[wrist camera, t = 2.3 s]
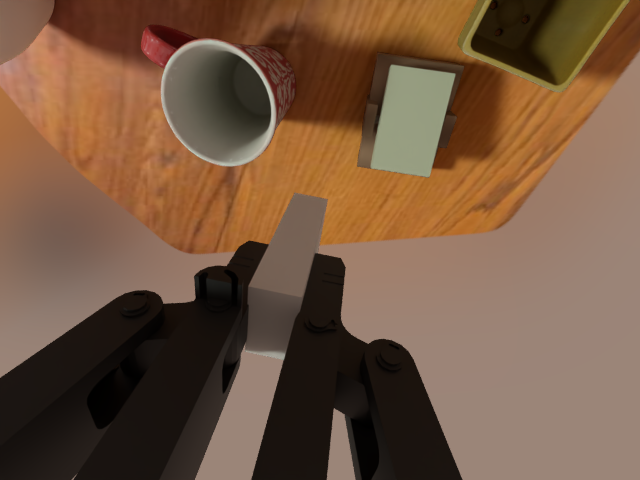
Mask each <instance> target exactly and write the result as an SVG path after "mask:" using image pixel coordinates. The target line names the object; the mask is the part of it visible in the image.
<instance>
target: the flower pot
mask: <svg viewBox="0 0 640 480" xmlns="http://www.w3.org/2000/svg"><path fill="white" fill-rule="evenodd" d="M629 1H630V0H478V1H477V3H476V5H475V7H474V9H473V11H472V13H471V15H470V17H469V19H468V21H467V22H466V24H465V26H464V28H463V30H462V32H461V34H460V36H459V39H458V45H459V47H460V49H461V50H462V51H463V52H464V53H465V54H466V55H468V56H471V57H473V58H476V59H479V60H481V61H484V62H486V63H489V64H491V65H493V66H496V67H498V68H501V69H503V70H505V71H508V72H510V73H512V74H515V75H517V76H519V77H522V78H524V79H526V80H529V81H531V82H533V83H535V84H538V85H540V86H542V87H544V88H547V89H549V90H552V91H554V92H563V91H564V90H565V89H566V88H567V87H568V86H569V85H570V83H571V82H572V81H573V79H574V78H575V77H576V75H577V74H578V72H579V71H580V70H581V68H582V67H583V65H584V64H585V62H586V61H587V59H588V58H589V57H590V55H591V54H592V53H593V51H594V50H595V48H596V47H597V45H598V44H599V43H600V41H601V40H602V38H603V37H604V36H605V34H606V33H607V31H608V30H609V29H610V27H611V26H612V24H613V23H614V22H615V20H616V19H617V17H618V16H619V15H620V13H621V12H622V11H623V9H624V8H625V7H626V5H627V4H628V3H629ZM493 2H496V3H497V7H496V8H495V9H491V8H490V5H491V3H493ZM524 16H528V17H529V19H528V21H527V22H526V23H523V22H522V18H523V17H524ZM497 29H501V30H502V32H501V34H500V35H499V36H496V35H495V32H496V30H497Z"/></svg>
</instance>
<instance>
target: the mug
mask: <svg viewBox="0 0 640 480" xmlns="http://www.w3.org/2000/svg"><path fill="white" fill-rule="evenodd" d="M141 49H142V51H143V52H144V54H145V55H146V56H147V57H148V58H149V59H150V60H151V61H153V62H154V63H156V64H157V65H159V66H160V67H162V68H164V69H165V70H164V73H163V76H162V82H161V100H162V105H163V110H164V113H165V116H166V119H167V121H168V123H169V125H170V127H171V129H172V131H173V132H174V134H175V135H176V137H177V138H178V139H179V140H180V142H181V143H182V144H183V145H184V146H185V147H186V148H187V149H188V150H189V151H191V152H192V153H193V154H195V155H196V156H198V157H200V158H201V159H203V160H205V161H208V162H210V163H213V164H216V165H221V166H239V165H243V164H246V163H248V162H251V161H253V160H254V159H256V158H257V157H259V156H260V155H261V154H262V153H263V152H264V151H265V150H266V148H267V147H268V146H269V144H270V142H271V140H272V138H273V136H274V133H275V130H276V128H277V127H278V125H279V124H280V122H281V120H282V119H283V117H284V116H285V114H286V112H287V111H288V109H289V108H290V106H291V104H292V102H293V100H294V97H295V93H296V80H295V76H294V72H293V70H292V68H291V66H290V64H289V63H288V61H287V60H286V59H285V58H284V57H283V56H282V55H281V54H280V53H279V52H277V51H276V50H274V49H272V48H269V47H265V46H255V45H241V44H234V43H229V42H227V41H224V40H220V39H214V38H202V39H198V38H195V37H193V36H190V35H188V34H186V33H183V32H181V31H178V30H175V29H172V28H169V27H166V26H161V25H149V26H147V27H146V28H145V30H144V32H143V36H142V41H141Z"/></svg>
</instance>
